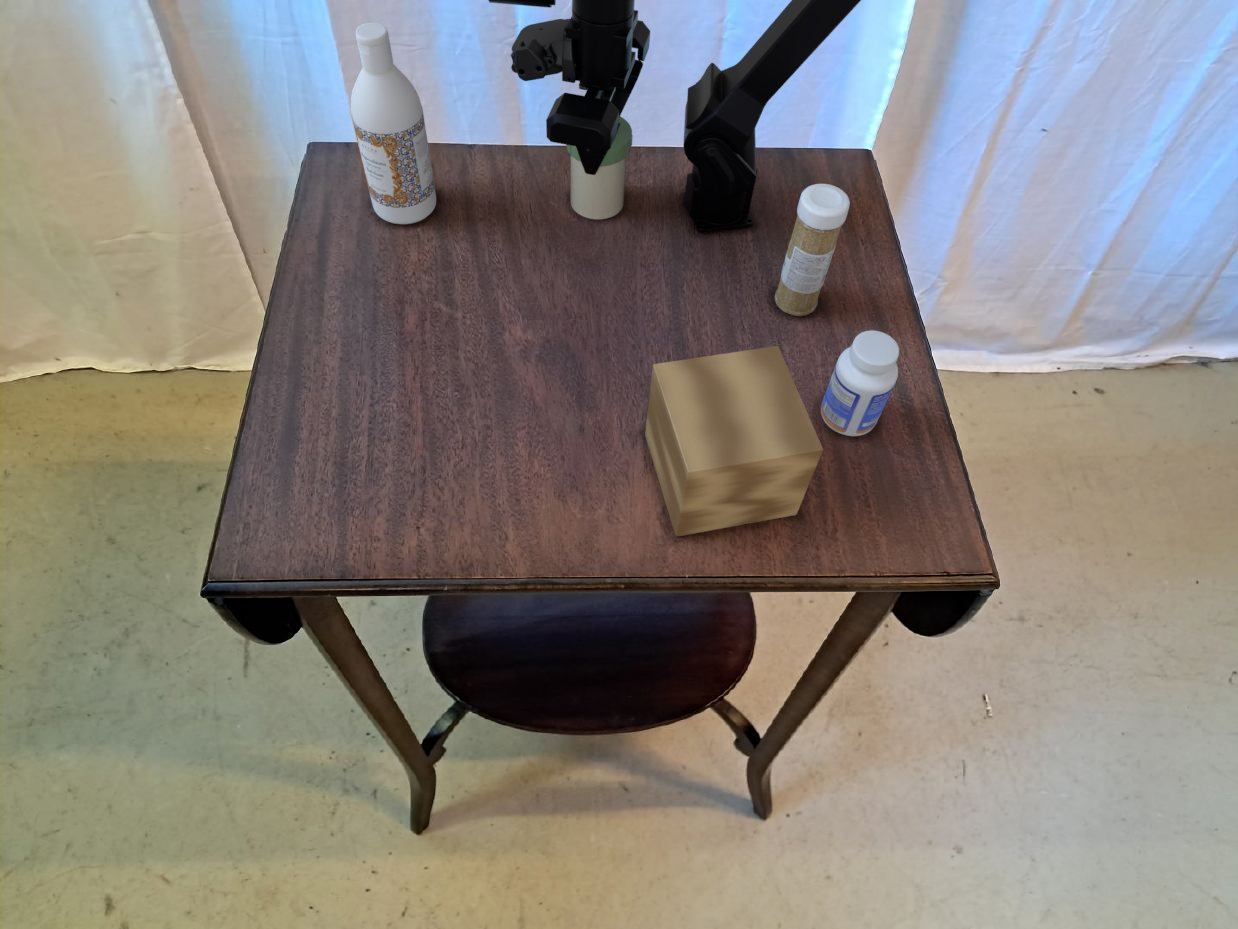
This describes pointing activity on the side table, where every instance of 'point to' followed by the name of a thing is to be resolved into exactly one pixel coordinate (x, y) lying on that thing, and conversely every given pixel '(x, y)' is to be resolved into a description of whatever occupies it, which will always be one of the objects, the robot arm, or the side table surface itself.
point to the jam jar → (597, 190)
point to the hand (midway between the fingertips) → (598, 152)
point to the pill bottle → (861, 384)
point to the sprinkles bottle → (811, 248)
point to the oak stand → (729, 439)
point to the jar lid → (613, 145)
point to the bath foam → (391, 133)
